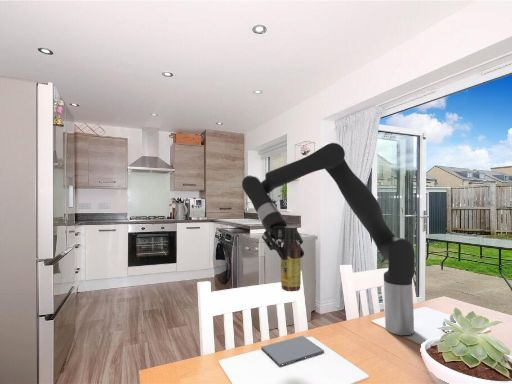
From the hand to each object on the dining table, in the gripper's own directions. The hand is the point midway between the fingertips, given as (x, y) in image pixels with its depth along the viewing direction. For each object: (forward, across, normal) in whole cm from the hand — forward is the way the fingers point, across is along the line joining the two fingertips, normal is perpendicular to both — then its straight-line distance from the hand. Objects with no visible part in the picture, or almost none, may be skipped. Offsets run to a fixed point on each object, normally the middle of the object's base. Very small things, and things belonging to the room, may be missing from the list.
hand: (294, 257), depth 86 cm
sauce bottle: (+6, 0, +9) cm, 11 cm away
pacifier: (+35, +55, +6) cm, 66 cm away
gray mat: (+20, 0, +22) cm, 29 cm away
